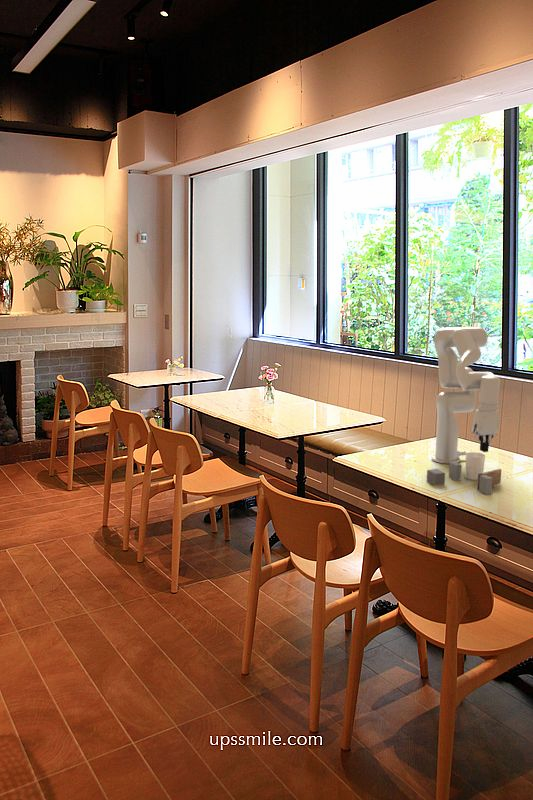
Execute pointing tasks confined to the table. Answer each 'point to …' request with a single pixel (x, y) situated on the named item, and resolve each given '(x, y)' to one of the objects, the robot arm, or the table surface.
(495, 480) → the door
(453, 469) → the block
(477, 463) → the white cup
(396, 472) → the table surface
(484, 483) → the hinge jamb
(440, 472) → the grey rectangular block
